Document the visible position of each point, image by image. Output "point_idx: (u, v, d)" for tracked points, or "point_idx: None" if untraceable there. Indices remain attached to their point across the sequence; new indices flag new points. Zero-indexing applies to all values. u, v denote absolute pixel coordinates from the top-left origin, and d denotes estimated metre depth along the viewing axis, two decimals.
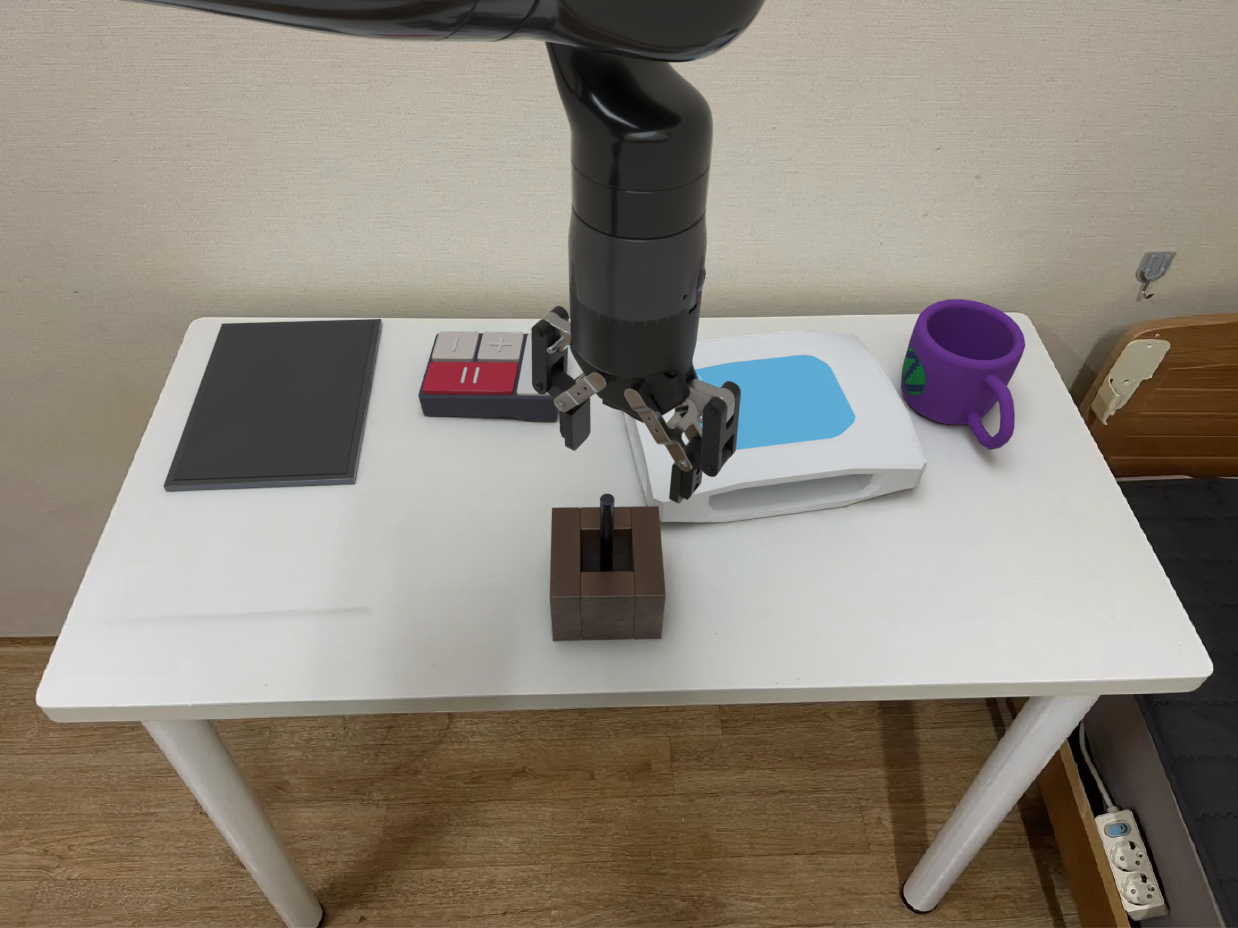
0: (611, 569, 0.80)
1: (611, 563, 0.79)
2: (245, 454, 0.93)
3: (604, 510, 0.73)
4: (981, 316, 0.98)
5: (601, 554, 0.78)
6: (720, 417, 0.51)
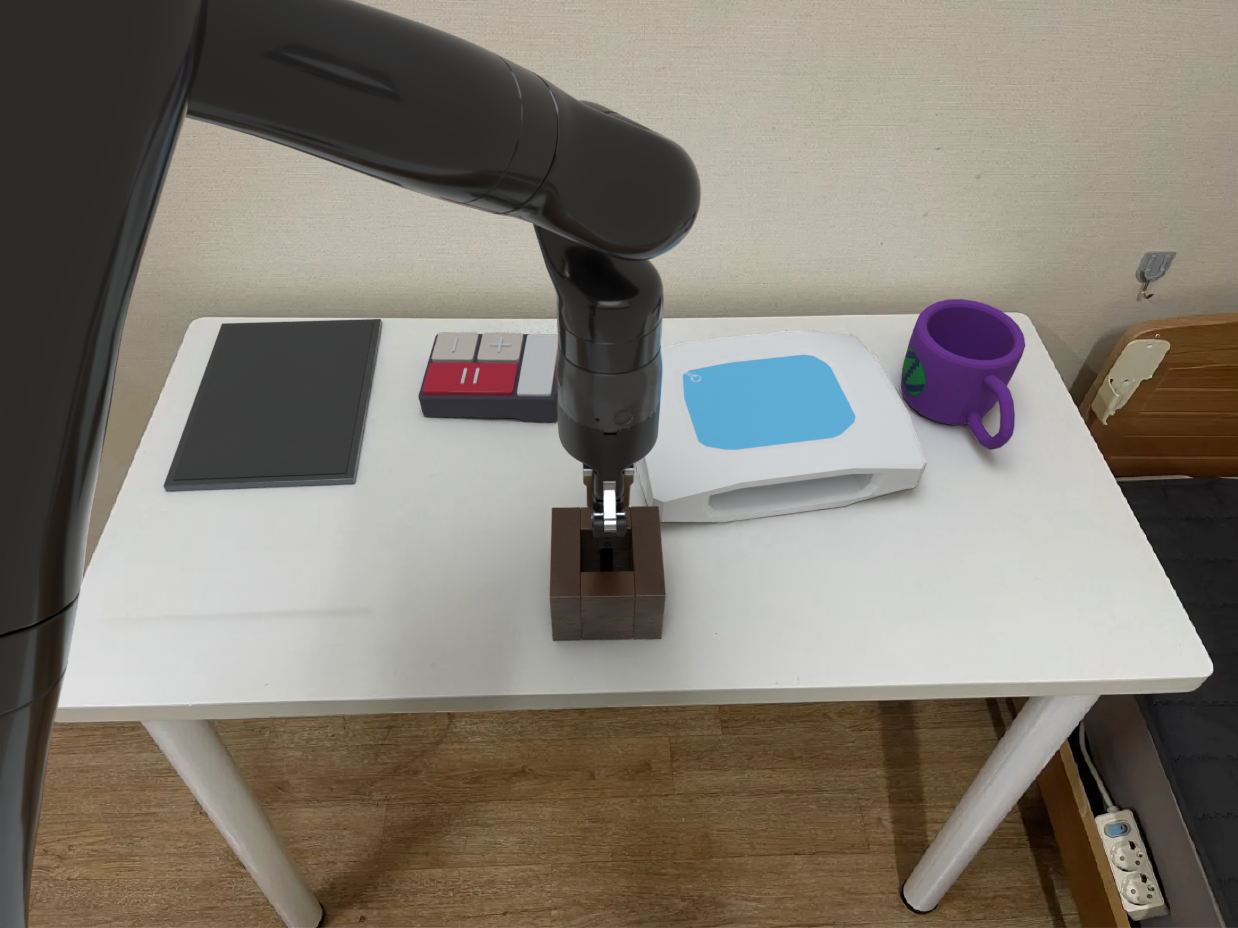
0: (611, 569, 0.80)
1: (611, 563, 0.79)
2: (245, 454, 0.93)
3: None
4: (981, 316, 0.98)
5: (601, 554, 0.78)
6: (593, 531, 0.66)
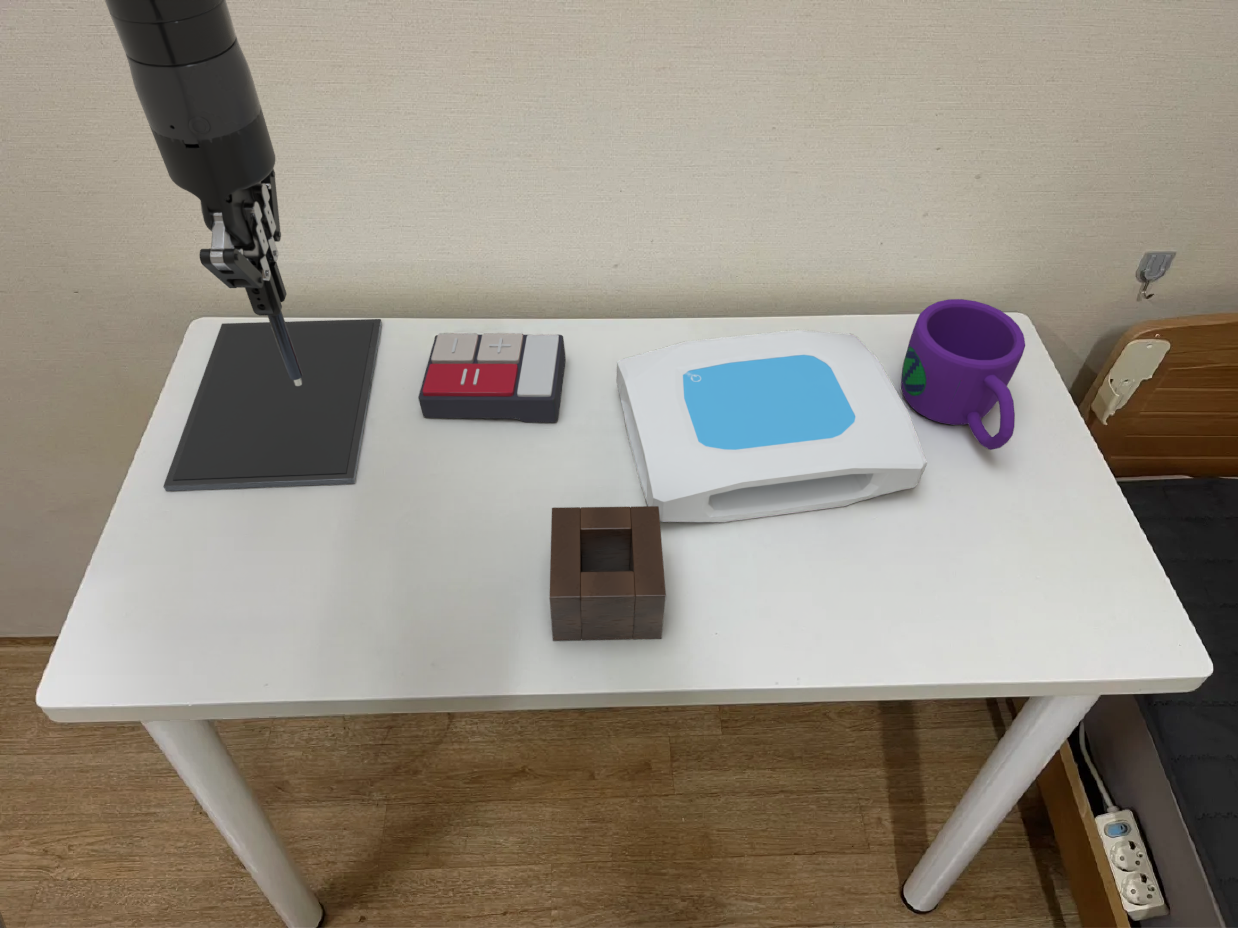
0: (289, 349, 0.78)
1: (286, 340, 0.78)
2: (245, 454, 0.93)
3: None
4: (981, 316, 0.98)
5: (272, 328, 0.77)
6: (203, 264, 0.65)
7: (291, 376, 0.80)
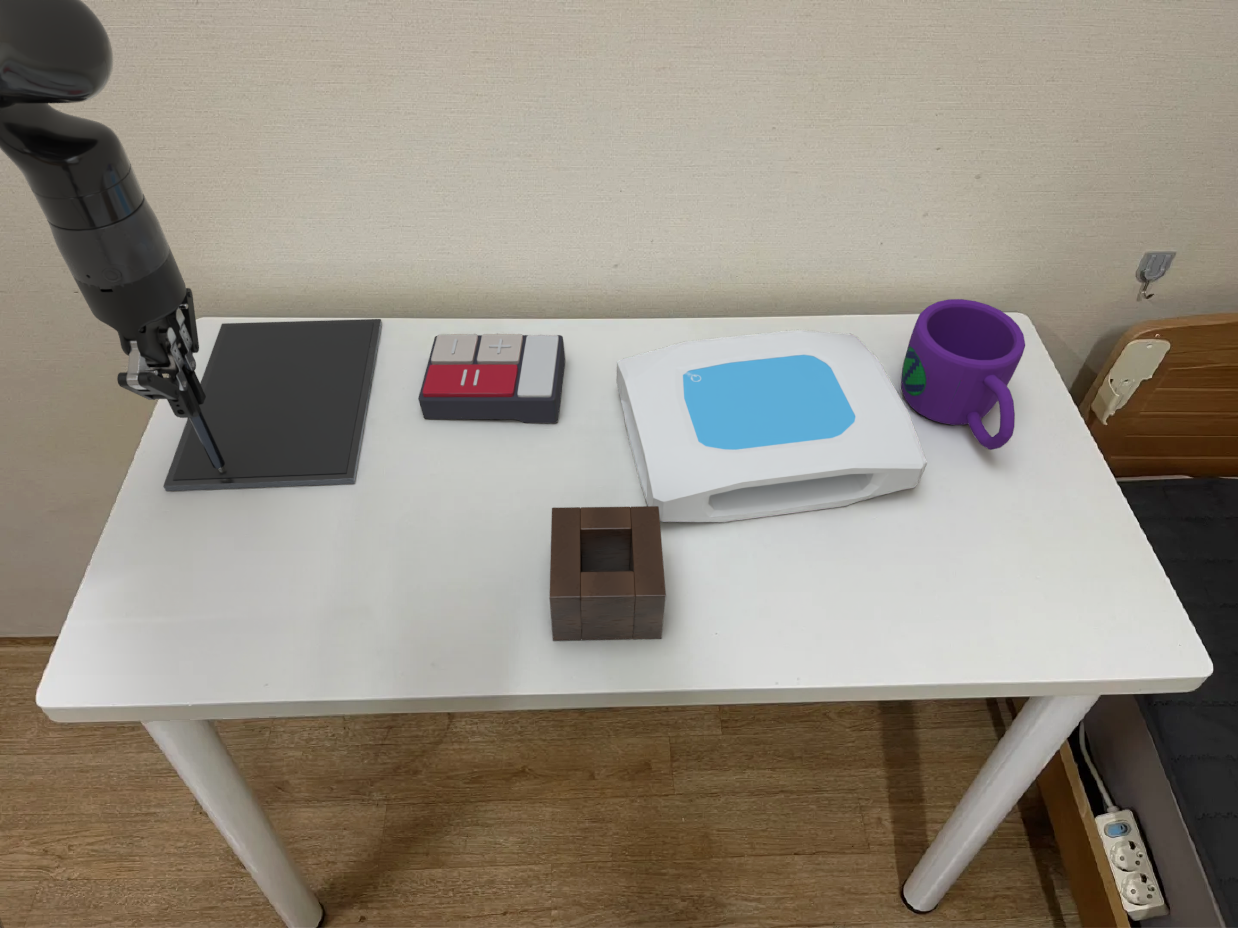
0: (211, 443, 0.88)
1: (207, 436, 0.87)
2: (245, 454, 0.93)
3: None
4: (981, 316, 0.98)
5: (194, 427, 0.86)
6: (121, 386, 0.74)
7: (214, 465, 0.90)
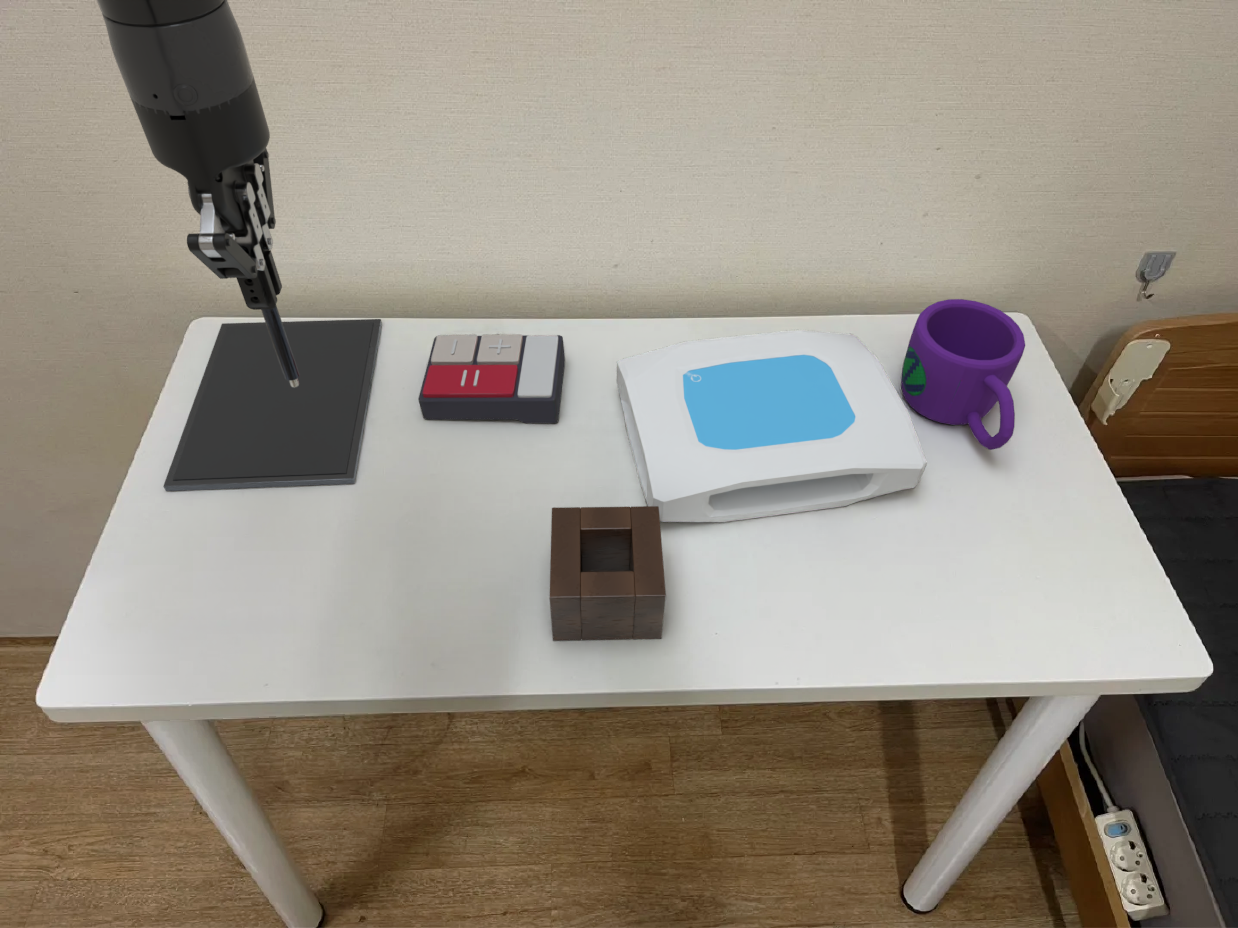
0: (285, 346, 0.72)
1: (282, 337, 0.71)
2: (245, 454, 0.93)
3: None
4: (981, 316, 0.98)
5: (266, 324, 0.70)
6: (191, 250, 0.59)
7: (287, 376, 0.74)
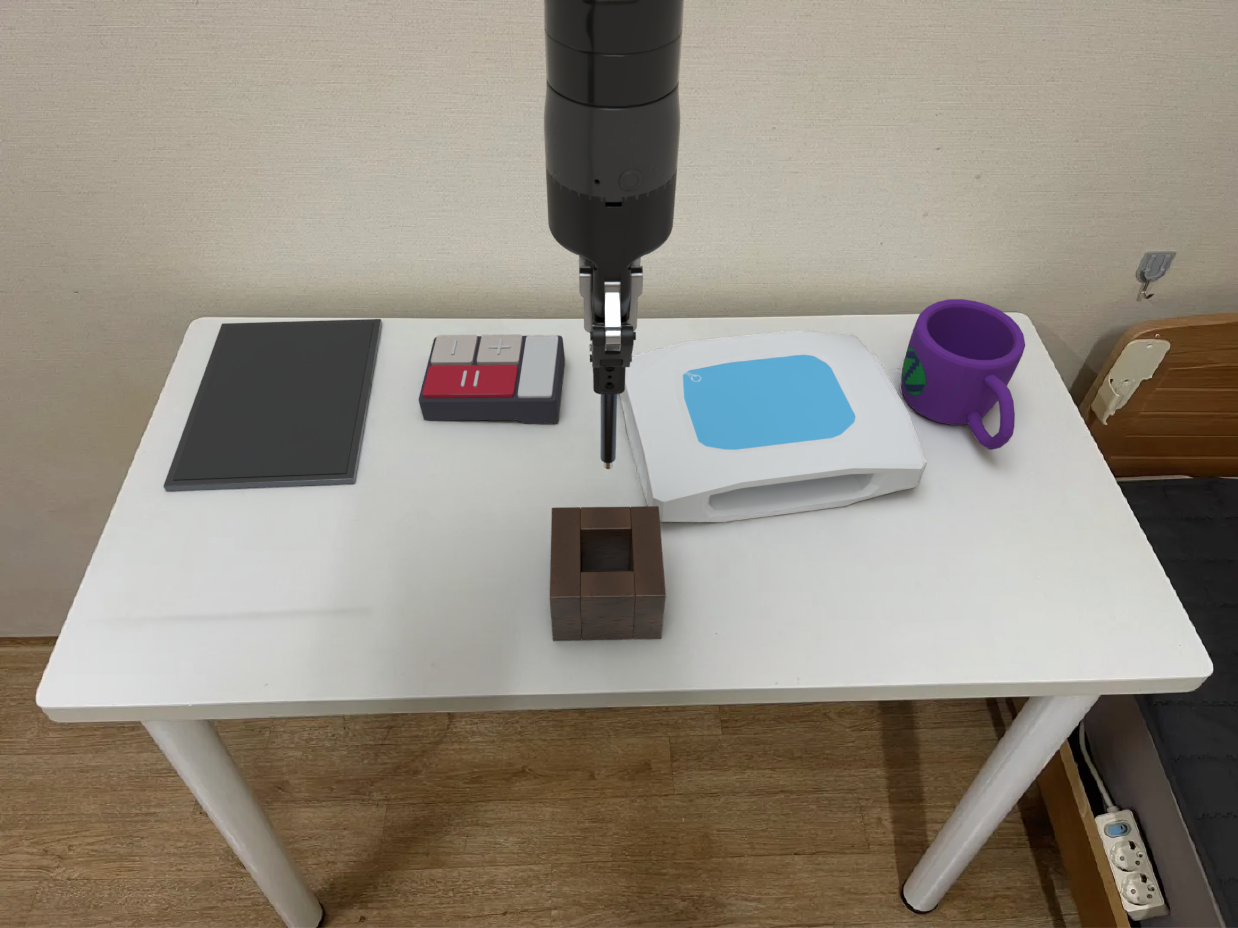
0: (614, 429, 0.66)
1: (614, 420, 0.66)
2: (245, 454, 0.93)
3: None
4: (981, 316, 0.98)
5: (602, 407, 0.64)
6: (592, 345, 0.53)
7: (605, 459, 0.68)
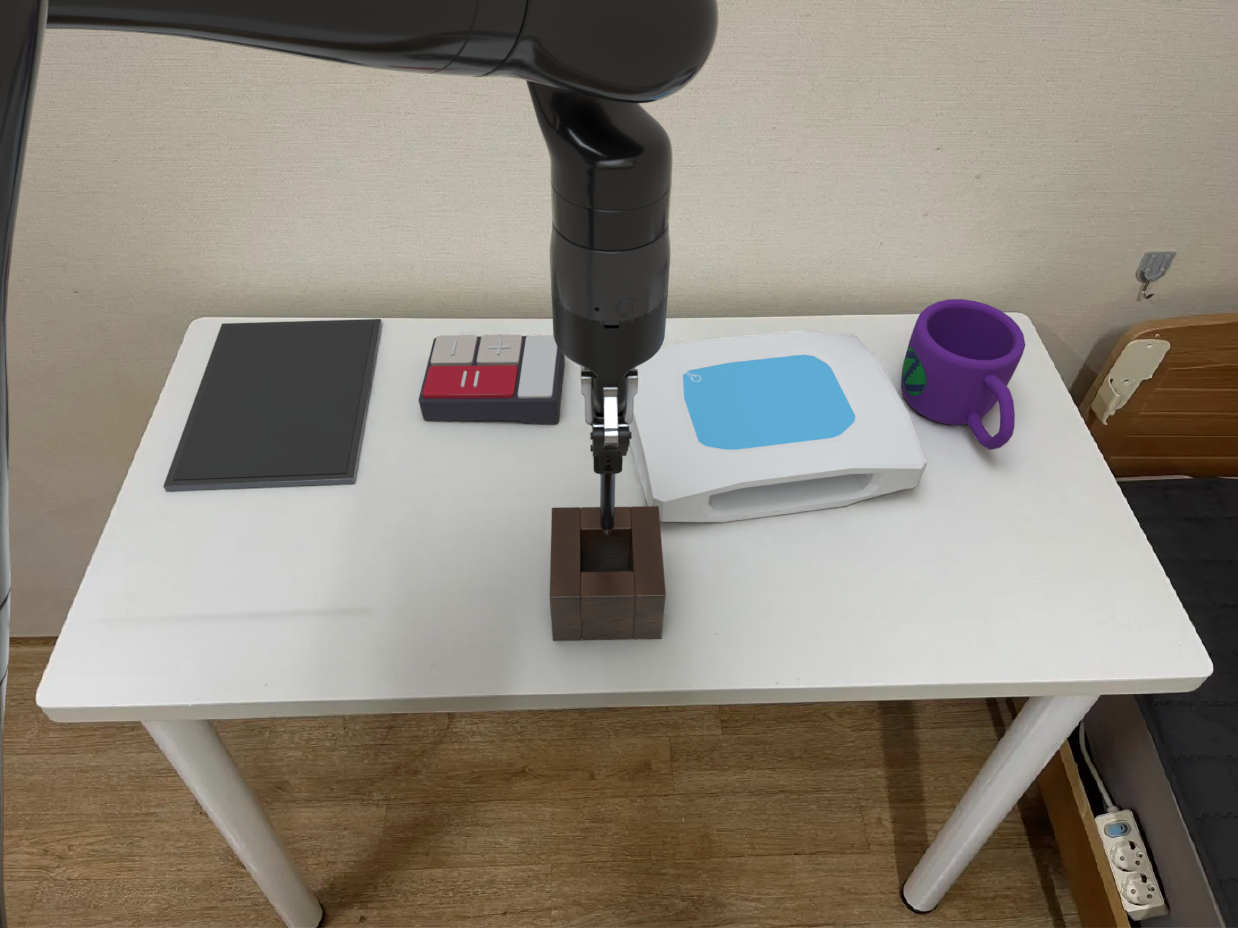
0: (613, 501, 0.73)
1: (613, 494, 0.72)
2: (245, 454, 0.93)
3: None
4: (981, 316, 0.98)
5: (602, 483, 0.71)
6: (593, 444, 0.59)
7: (605, 527, 0.75)
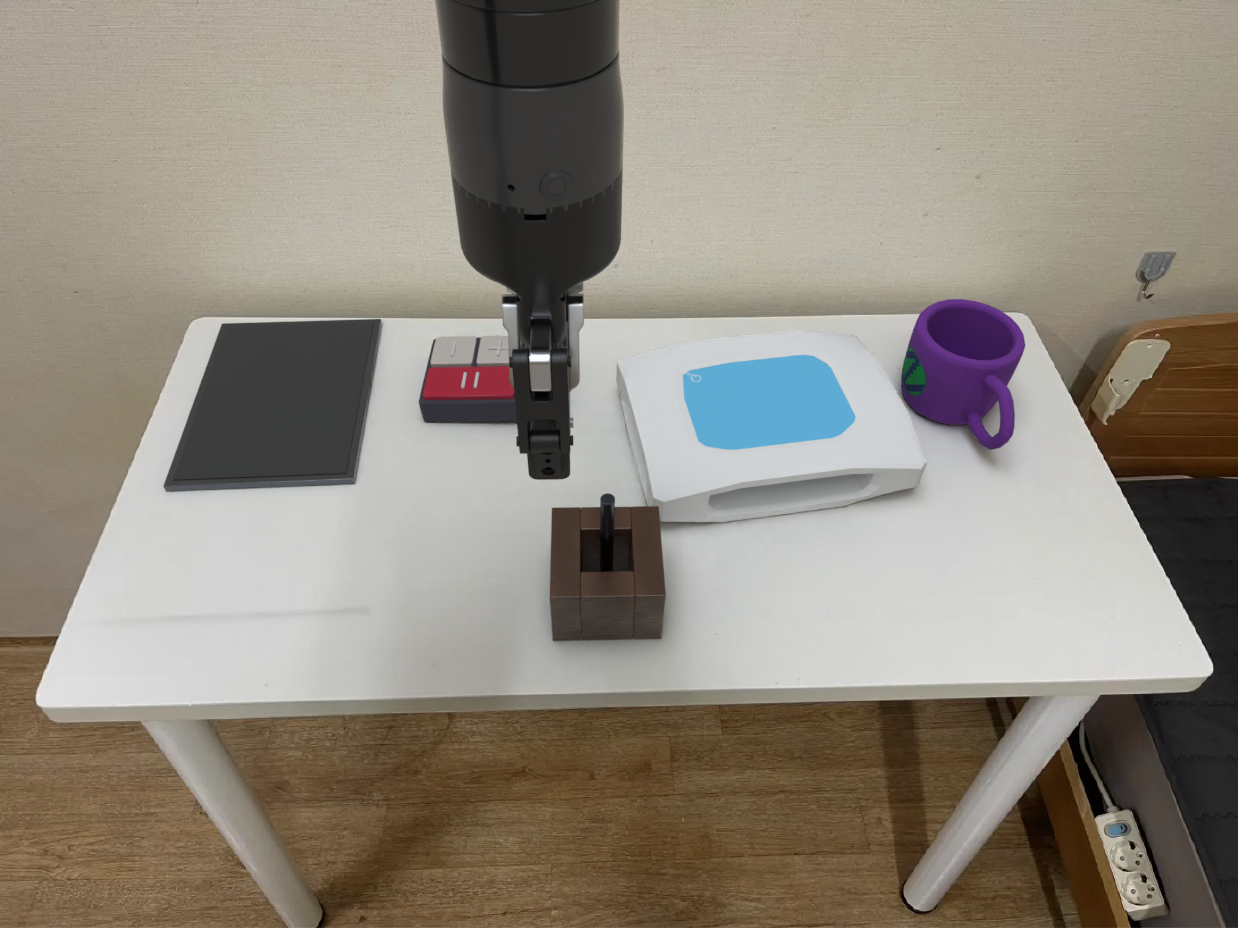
0: (611, 569, 0.80)
1: (611, 563, 0.79)
2: (245, 454, 0.93)
3: (604, 510, 0.73)
4: (981, 316, 0.98)
5: (601, 554, 0.78)
6: (512, 371, 0.39)
7: None
